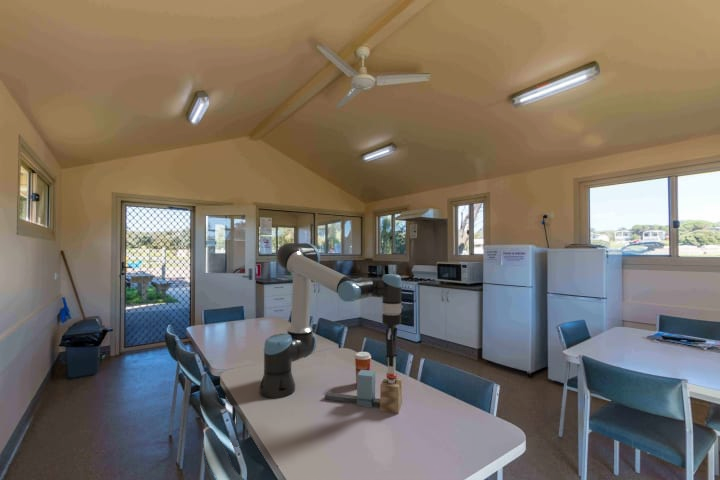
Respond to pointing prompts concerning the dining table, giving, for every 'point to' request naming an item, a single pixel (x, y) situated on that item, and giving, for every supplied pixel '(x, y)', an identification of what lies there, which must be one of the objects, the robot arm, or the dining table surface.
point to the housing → (391, 396)
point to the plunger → (391, 378)
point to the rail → (348, 399)
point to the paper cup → (362, 362)
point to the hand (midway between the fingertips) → (391, 373)
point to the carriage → (365, 388)
